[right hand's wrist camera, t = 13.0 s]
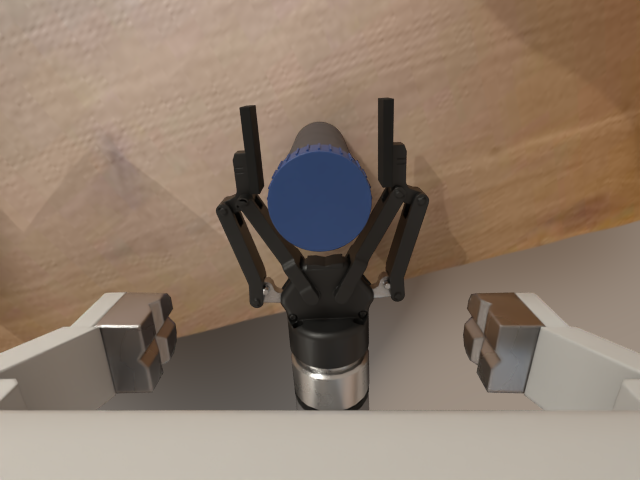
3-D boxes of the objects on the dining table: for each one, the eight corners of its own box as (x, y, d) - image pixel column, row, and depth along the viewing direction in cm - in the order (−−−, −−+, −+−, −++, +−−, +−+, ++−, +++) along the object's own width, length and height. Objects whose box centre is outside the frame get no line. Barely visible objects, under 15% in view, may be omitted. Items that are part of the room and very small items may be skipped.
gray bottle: (288, 166, 38) (264, 232, 21) (301, 115, 36) (284, 143, 19) (337, 179, 38) (350, 253, 21) (351, 129, 36) (378, 168, 20)
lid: (262, 224, 23) (256, 239, 20) (283, 130, 21) (279, 136, 19) (351, 246, 23) (355, 263, 21) (380, 157, 21) (387, 166, 19)
